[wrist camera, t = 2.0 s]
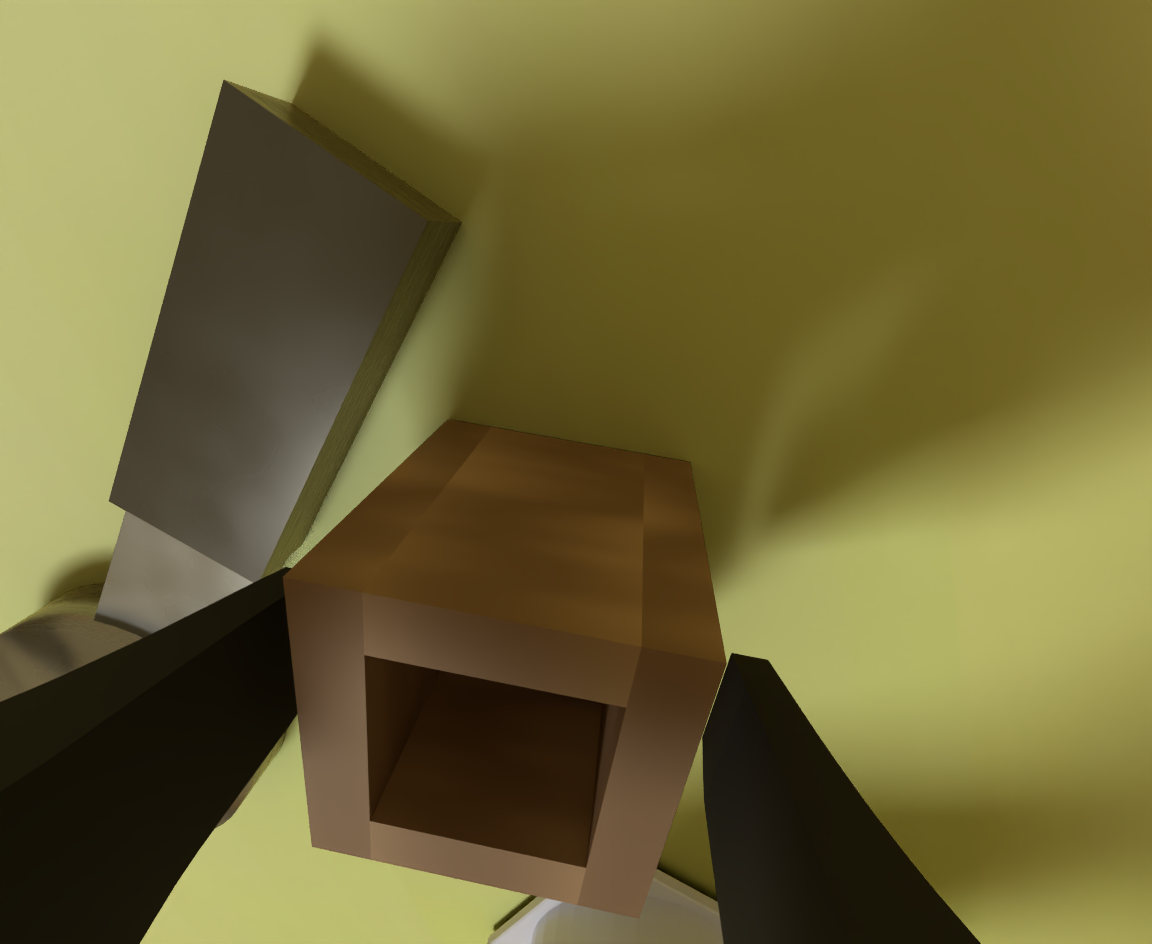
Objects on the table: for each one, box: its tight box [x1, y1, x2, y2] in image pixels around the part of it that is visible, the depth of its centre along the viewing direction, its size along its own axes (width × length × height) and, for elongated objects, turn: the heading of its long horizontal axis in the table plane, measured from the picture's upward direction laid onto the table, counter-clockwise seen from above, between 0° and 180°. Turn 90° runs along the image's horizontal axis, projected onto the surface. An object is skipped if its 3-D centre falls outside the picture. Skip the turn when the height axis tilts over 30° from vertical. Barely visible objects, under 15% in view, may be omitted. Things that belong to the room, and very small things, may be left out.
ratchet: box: [0, 80, 462, 828], centre depth 12 cm, size 21×8×6 cm, turn 147°
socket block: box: [283, 419, 727, 919], centre depth 10 cm, size 5×5×6 cm
